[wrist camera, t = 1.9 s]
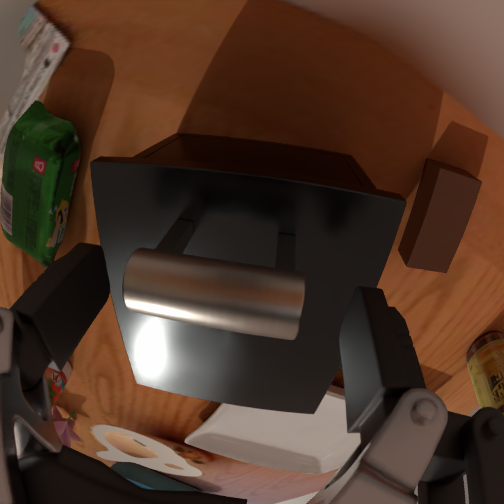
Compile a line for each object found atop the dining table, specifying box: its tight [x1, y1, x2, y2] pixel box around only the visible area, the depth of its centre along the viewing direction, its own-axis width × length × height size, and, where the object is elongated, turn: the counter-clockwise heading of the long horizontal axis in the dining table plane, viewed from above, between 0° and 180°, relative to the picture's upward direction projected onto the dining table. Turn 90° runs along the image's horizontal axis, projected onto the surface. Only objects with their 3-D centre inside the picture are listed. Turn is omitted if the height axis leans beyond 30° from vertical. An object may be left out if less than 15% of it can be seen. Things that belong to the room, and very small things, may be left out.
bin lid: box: [90, 156, 406, 414], centre depth 13 cm, size 16×13×5 cm
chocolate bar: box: [398, 158, 482, 273], centre depth 20 cm, size 8×4×2 cm, turn 175°
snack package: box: [0, 101, 81, 268], centre depth 21 cm, size 7×16×5 cm, turn 151°
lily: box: [52, 405, 83, 448], centre depth 50 cm, size 12×12×10 cm
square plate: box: [185, 385, 361, 474], centre depth 38 cm, size 27×27×4 cm
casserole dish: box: [110, 462, 202, 492], centre depth 71 cm, size 37×22×7 cm, turn 45°
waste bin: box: [132, 133, 376, 189], centre depth 20 cm, size 15×13×10 cm
